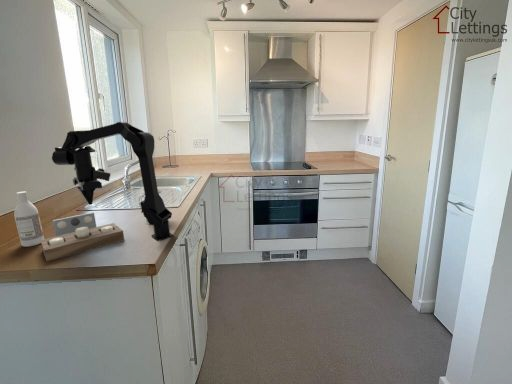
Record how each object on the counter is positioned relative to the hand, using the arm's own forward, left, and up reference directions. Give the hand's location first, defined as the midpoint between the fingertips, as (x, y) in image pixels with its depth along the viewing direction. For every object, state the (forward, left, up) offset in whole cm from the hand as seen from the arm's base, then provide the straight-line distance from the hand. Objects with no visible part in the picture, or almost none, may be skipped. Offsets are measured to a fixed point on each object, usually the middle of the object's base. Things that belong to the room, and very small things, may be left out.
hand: (90, 204), depth 109 cm
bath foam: (+8, +20, -13) cm, 25 cm away
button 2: (-9, -2, -12) cm, 15 cm away
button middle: (-9, +5, -10) cm, 15 cm away
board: (-9, +6, -13) cm, 16 cm away
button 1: (-9, +14, -12) cm, 20 cm away
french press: (-1, -23, -13) cm, 27 cm away
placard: (+5, +6, -13) cm, 15 cm away
